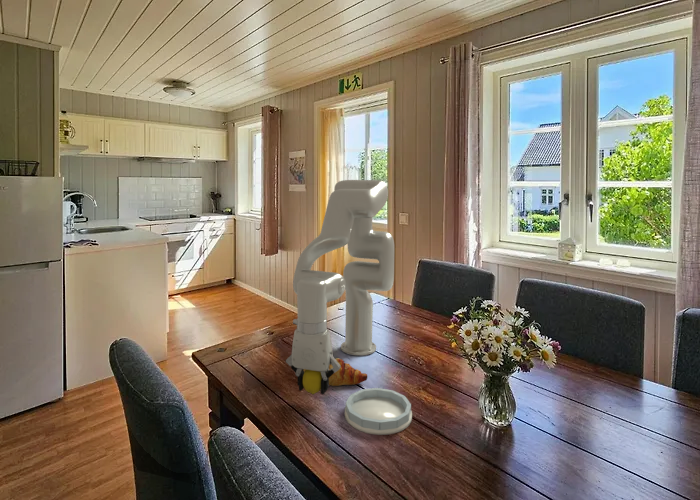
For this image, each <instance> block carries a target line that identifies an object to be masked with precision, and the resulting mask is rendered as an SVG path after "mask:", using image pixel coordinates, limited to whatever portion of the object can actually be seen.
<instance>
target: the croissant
mask: <svg viewBox="0 0 700 500" xmlns="http://www.w3.org/2000/svg"><path fill="white" fill-rule="evenodd" d="M335 359H336V361H337V362H338V363H339V364H340V366H341V368H340V369H339V370H338V371H337V372H335V373H334V374H333V375H332V376H330V377H329V387H330V386H331V387H332V386H333V387H335V386H336V387H339V386H346V385H347V386H352V385H359V384H360V383H364V382H366V381H367V380H368V373H363V372H362V371H361V370H359V369H357V368H356V369H355V367H352V366H351V364H350V363H348V362H345V360H343V359H342V358H338V357H337V358H335ZM331 368H333V366H332V365H329V370H330V369H331ZM305 370H306V369H304V372H305Z"/></svg>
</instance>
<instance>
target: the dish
mask: <svg viewBox="0 0 700 500" xmlns="http://www.w3.org/2000/svg"><path fill="white" fill-rule="evenodd" d="M344 419H345V421H346V422H347V423H348V425H350V426H351V427H352V428H353V429H355V430H357V431H360V432H362V433H364V434H369V435H377V436H383V435H384V436H386V435H393V434H397V433H400V432H402V431H403V430H405V429H407V428H408V427H409V426H410V424H411V423H412V420H413V411H412V403H411V402H410V401H409V399H408V398H407V397H406V396H405V395H404V394H402V393H400V392H398V391H395V390H393V389H387V388H380V387H372V388H363V389H360V390H358V391H356V392H353V393H352V394H350V395H349V397H348V398H347V400H346V402H345V408H344Z"/></svg>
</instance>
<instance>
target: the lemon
mask: <svg viewBox="0 0 700 500" xmlns="http://www.w3.org/2000/svg"><path fill="white" fill-rule="evenodd" d="M321 380H322V375H321V372H320V371H312V370H305V372H304V375H303V386H304V388H303V389H304V391H306V392H307V393H308V394H309V393H310V394H312V395H315V394H316V393H319V392H321Z"/></svg>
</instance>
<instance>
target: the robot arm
mask: <svg viewBox="0 0 700 500" xmlns="http://www.w3.org/2000/svg"><path fill="white" fill-rule="evenodd" d="M388 195H389V189H388V185H387V183H386V182H385V181H382V180H378V179H344V180H340V181H338V182H337V183H335V185H334V190H333V191H332V193H330V195H329V198H328V201H327V204H326V205H327V206H326V208H325V214H324V218H323V222H322V226H321V230H320V234H319V235H318V236H317V237H315V238H314V239H313V240H312V241H310V242H309V244H308V245H307V246H306V247H305V248H304V250H303V251H302V252H300V253H301V254H300V255H299V257H298V260H297V261H296V266H295V270H294V274H293V279H292V288H293V291H294V293H295V294H296V296H297V297H296V300H297V303H296V304H297V305H296V306H297V318H293V320H292V324H293V325H295V326H296V328H295V330H294V334H293V338H292V347H291V349H292V350H291V354H290V355H289V356H288V357H287V359H285V363H286V364H287V365H288V366H289V367H290V368H291V370H292V371H293V372H294V373H295V376H296V377H297V386H298V391H300V392H301V391H303V389H305V388H304V386H303V375H304V369H306V370H312V371H320V372H321V375H322V380H321V390H320V394H321V395H325V393H326V392H327V391H328V390H329V387H330V385H329V377H330V376H332V375H333V374H334V373H335V372H337V371H338V370H339V369H340V368H341V366H340V364H339V363H338V362H337V361H336V358H335V357H334V355H333V344H332V337H331V333H330V330H329V329H328V320H327V319H328V315H327V314H328V313H327V312H328V311H327V310H328V307H327V306H328V305H327V304H328V303H329V302H333V301H336V300H338V299H340V298H341V297H343V294H344V293H345V326H344V327H345V328H344V329H345V335H344V337H345V339H344V341H343V342H342V343H341V345H340V350H341V351H342V352H343V353H345V354H348V355H351V356H358V357H359V356H368V355H371V354H373V353H375V352H376V351H377V345H376V343H374V342H373V318H374V317H373V313H374V311H373V309H374V308H373V307H374V303H373V298H372V296H371V294H370V293H369V292H370V291H376V292H388V291H390V290H391V289H392V288H393V285H394V281H395V240H394V237H393V235H392V234H391V233H389V232H388V231H380V230H374V229H373V218H374V217H376V216H377V215H378V214H379V212H380V211H382V209H383V208H384V206H385V205H386V203H387V201H388V197H389V196H388ZM345 246H347V252H348V254H349V256H351V257H353V258H357V259H364V260H365V259H367V260H377V262H372V261H361V260H356V261H349V262H348V263H347V264H346V265H345V266H344V267H343V273H342V274H343V275H342V274H340V273H339V272H333V271H332V272H331V271H323V270H311V269H312V267H313V265H314V263H315V262H316V261H317V260H318V259H319V258H320V257H322V256H323V255H326V254H328V253H330V252H332V251H335V250H337V249H340V248H343V247H345ZM329 365H332V366H333V368H331V369H330V370H329Z"/></svg>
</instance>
